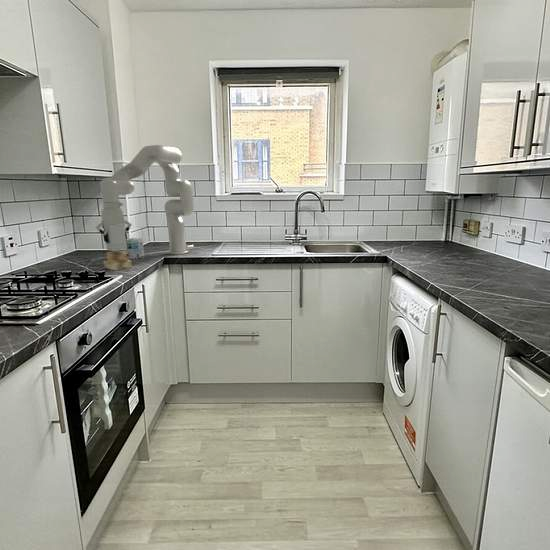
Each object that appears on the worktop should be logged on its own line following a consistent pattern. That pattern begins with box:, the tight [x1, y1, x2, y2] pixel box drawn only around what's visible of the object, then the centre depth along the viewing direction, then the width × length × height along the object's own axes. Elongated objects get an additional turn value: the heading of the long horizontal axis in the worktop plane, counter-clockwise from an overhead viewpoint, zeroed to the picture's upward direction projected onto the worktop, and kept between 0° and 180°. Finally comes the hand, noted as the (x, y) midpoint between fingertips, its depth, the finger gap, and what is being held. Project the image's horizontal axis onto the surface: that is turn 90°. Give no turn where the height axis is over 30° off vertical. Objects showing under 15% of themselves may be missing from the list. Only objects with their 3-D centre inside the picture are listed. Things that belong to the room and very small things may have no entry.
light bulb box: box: [122, 237, 145, 260], centre depth 220 cm, size 11×7×11 cm, turn 168°
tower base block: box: [102, 259, 133, 271], centre depth 194 cm, size 10×10×4 cm
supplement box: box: [105, 224, 127, 252], centre depth 191 cm, size 7×7×13 cm
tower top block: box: [106, 250, 129, 263], centre depth 193 cm, size 9×9×4 cm
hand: (115, 241), depth 191 cm, fingers closed on supplement box, 8 cm apart
